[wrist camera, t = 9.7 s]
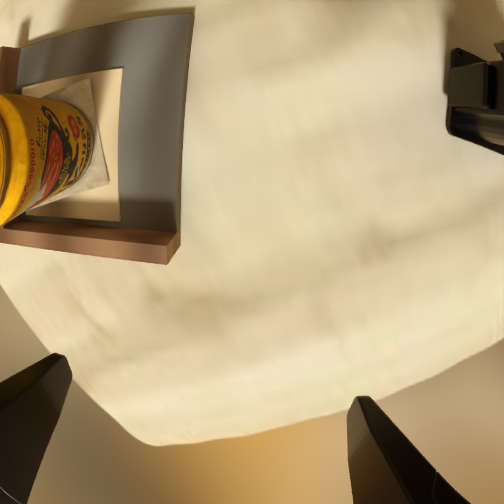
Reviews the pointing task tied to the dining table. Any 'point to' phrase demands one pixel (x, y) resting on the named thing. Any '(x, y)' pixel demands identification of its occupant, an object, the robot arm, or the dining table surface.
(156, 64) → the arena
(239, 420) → the dining table surface
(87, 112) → the condiment
